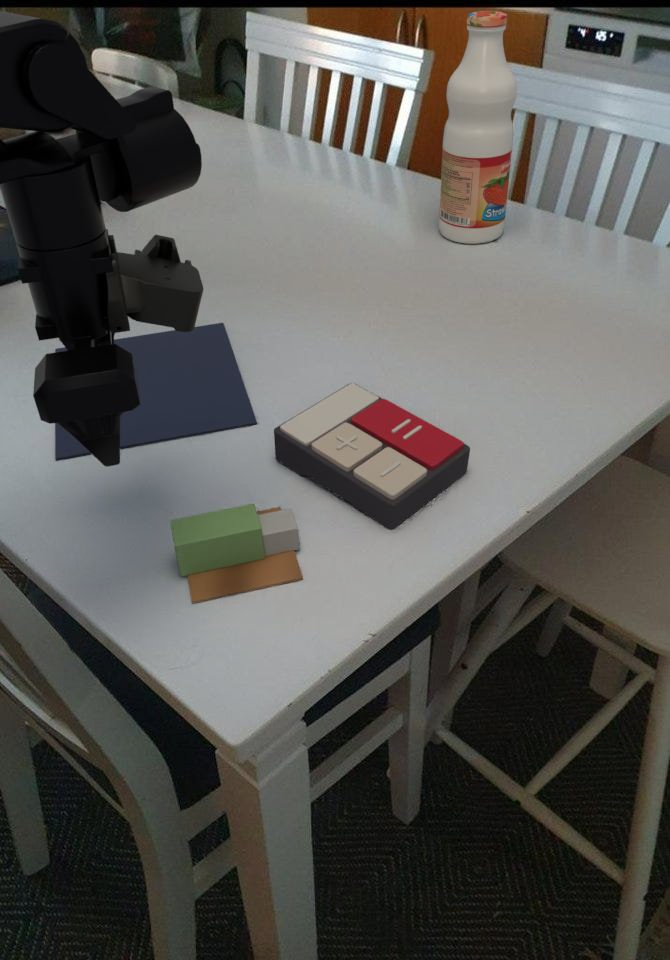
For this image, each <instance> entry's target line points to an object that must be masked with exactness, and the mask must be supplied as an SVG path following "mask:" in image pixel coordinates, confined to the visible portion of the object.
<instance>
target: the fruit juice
mask: <svg viewBox="0 0 670 960" xmlns="http://www.w3.org/2000/svg"><path fill="white" fill-rule="evenodd" d="M507 24H508V14H507V13H506V12H503V11H497V10H479V11H473V12H470V13H468V15H467V18H466V29H467V31H468V39H467V44H466V47H465V51H464V54H463V56H462V58H461V61H460V63H459V65H458V66H457V68H456V69H455V70H454V71H453V73H452V74H451V75H450V77H449V80H448V82H447V86H446V96H445V97H446V103H447V108H448V117H447V120H446V121H445V125H444V129H443V137H442V154H441V155H442V156H441V175H440V179H441V180H440V196H439V216H438V229H439V233H440V234H441V236H443V237H444V238H445V239H446V240H449V241H451V242H455V243H459V244H467V245H468V244H469V245H470V244H471V245H472V244H473V245H474V244H486V243H489V242H492V241H495V240H496V239H498V238H500V237H501V236H502V234H503V233H504V228H505V224H506V223H505V222H506V213H507V202H508V194H509V185H510V172H511V165H512V163H511V162H512V154H513V148H514V147H513V146H514V123H513V121H512V112H513V111H512V110H513V108H514V105H515V103H516V99H517V94H518V82H517V79H516V77H515V75H514V73H513V70H512V69H511V67H510V66H509V65H508V62H507V59H506V53H505V47H504V32H505V30H506V29H507Z"/></svg>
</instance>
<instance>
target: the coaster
mask: <svg viewBox="0 0 670 960" xmlns="http://www.w3.org/2000/svg"><path fill="white" fill-rule="evenodd" d="M280 510H282V509H281V507H280V506H276V507H272V508H266V509H261V510H258V511H257V510H256V511H257V515H261V514H265V513H270V512H275V511H280ZM186 576H187V582H188V587H189V592H190V597H191V599H190V600H191V603H192V604H197V603H201V602H207V601H210V600H215V599H219V598H224V597H228V596H229V597H230V596H232V595H238V594H244V593H247V592H252V591H257V590H262V589H266V588H271V587H274V586H275V587H276V586H280V585H284V584H288V583H294V582H298V581H302V580H304V577H303V576H304V575H303V573H302V570H301V567H300V563H299V560H298V558H297V555H296V552H295V550H292V551H287V552H283V553H278V554H273V555H268V556H265V559H261V560H256V561H251V562H247V563H242V564H237V565H233V566H228V567H223V568H218V569H214V570H209V571H204V572H200V573H195V574H190V575H186Z"/></svg>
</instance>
